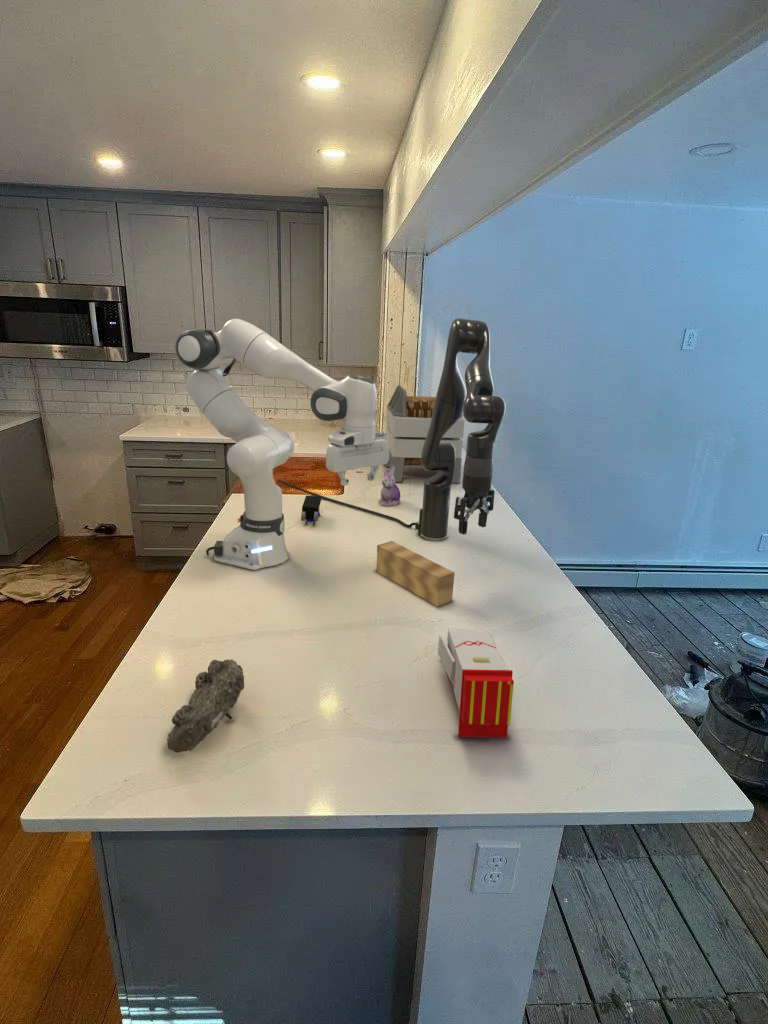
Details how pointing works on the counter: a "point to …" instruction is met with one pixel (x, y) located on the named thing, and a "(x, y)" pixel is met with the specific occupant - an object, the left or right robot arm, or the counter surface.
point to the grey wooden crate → (415, 432)
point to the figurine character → (311, 509)
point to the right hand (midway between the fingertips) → (472, 529)
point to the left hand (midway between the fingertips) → (358, 482)
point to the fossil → (206, 705)
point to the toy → (478, 682)
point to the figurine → (389, 489)
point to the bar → (415, 573)
